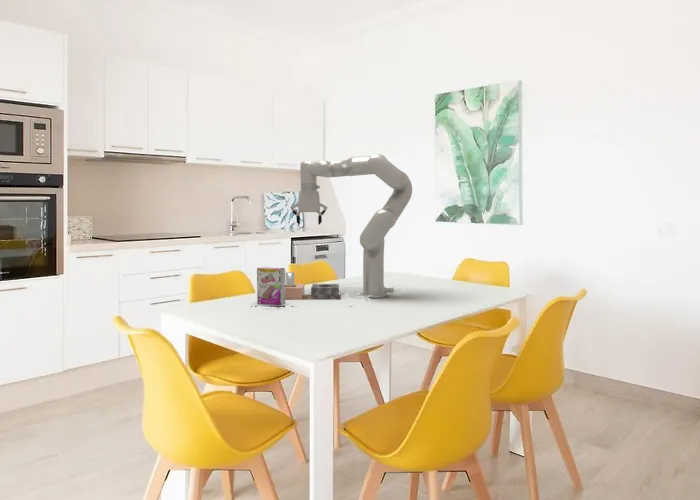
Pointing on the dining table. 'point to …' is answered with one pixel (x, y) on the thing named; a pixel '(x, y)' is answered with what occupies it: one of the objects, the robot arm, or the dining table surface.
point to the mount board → (322, 292)
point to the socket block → (294, 292)
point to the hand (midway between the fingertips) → (309, 224)
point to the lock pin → (290, 279)
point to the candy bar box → (271, 286)
